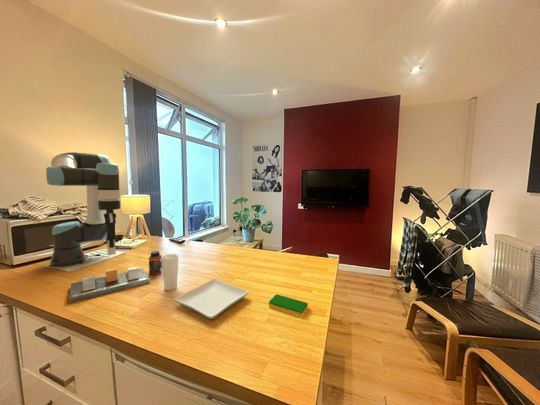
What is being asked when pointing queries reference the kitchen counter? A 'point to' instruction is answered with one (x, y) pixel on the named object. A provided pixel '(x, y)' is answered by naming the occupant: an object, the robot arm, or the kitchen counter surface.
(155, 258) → the supplement bottle
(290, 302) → the dish sponge
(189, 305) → the salad plate
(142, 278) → the panel
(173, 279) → the white tumbler
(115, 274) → the toggle
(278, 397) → the kitchen counter surface
